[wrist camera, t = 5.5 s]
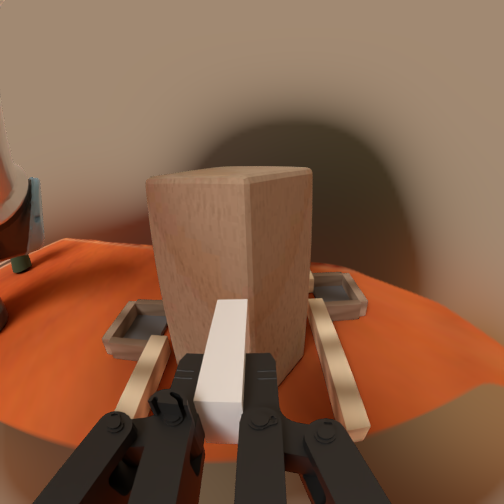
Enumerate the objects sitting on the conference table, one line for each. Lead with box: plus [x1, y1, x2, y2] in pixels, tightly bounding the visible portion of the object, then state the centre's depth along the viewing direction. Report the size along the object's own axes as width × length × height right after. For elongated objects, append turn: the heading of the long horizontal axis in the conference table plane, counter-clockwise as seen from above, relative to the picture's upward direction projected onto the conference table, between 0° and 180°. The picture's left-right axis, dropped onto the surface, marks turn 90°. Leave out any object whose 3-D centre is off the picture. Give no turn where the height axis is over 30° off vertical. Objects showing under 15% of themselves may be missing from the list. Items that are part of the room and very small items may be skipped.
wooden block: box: [146, 166, 312, 386], centre depth 25 cm, size 10×10×20 cm
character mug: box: [11, 255, 32, 273], centre depth 51 cm, size 11×7×13 cm, turn 94°
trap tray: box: [102, 270, 371, 442], centre depth 33 cm, size 35×33×7 cm
